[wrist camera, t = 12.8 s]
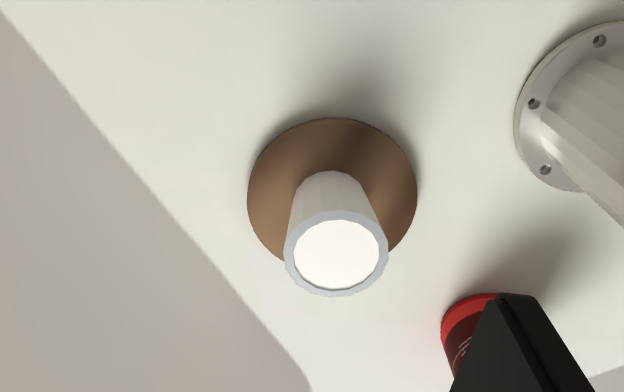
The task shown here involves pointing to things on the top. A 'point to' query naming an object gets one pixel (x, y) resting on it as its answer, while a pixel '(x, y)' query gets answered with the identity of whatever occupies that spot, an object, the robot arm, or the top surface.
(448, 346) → the canned food
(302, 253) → the white cup
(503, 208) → the top surface
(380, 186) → the brown round coaster
